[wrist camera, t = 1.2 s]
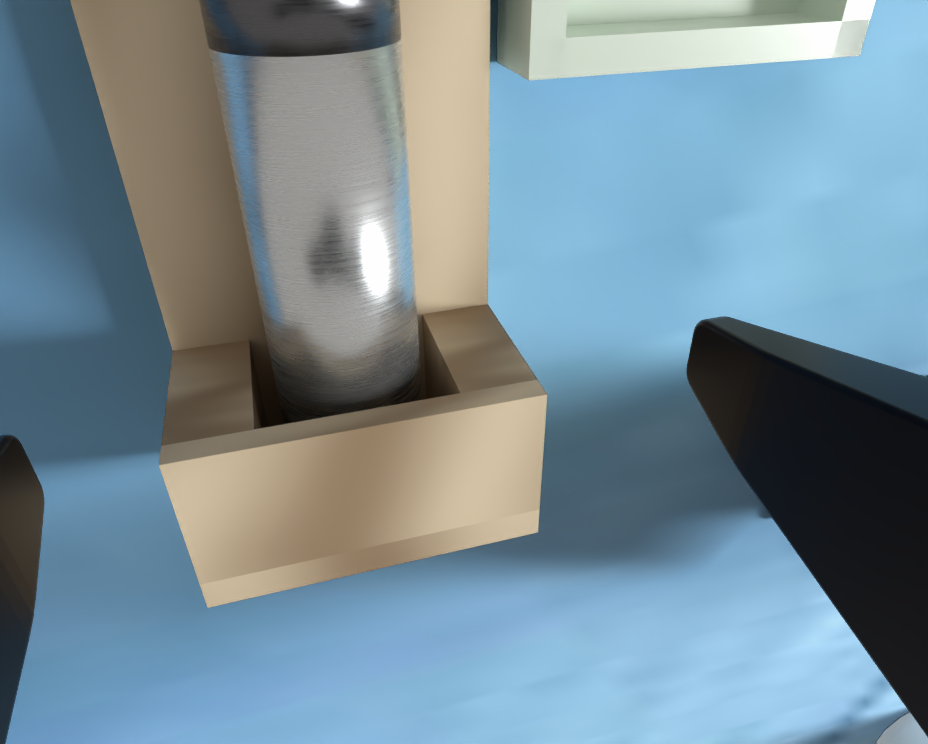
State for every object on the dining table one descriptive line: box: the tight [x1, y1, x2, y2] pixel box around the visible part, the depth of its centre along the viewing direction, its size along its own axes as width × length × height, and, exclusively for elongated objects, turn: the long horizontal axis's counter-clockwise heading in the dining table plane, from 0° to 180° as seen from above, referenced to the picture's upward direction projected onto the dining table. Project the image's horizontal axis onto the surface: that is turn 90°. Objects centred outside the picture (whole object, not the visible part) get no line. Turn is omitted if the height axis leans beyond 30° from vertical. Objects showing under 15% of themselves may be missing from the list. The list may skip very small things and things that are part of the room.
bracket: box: [70, 0, 547, 608], centre depth 15 cm, size 8×13×6 cm, turn 1°
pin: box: [199, 0, 422, 424], centre depth 15 cm, size 3×11×3 cm, turn 1°
